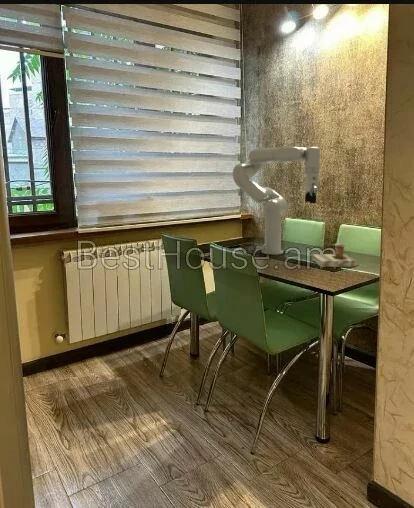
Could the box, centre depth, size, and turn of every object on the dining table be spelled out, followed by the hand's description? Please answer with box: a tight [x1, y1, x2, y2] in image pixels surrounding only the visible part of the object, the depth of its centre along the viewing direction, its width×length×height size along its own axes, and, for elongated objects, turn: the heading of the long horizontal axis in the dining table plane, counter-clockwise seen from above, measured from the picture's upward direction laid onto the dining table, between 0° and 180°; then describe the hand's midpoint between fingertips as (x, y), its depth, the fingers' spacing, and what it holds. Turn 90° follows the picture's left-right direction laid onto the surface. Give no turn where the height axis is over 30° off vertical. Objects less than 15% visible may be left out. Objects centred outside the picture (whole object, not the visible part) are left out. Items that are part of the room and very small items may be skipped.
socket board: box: [311, 253, 358, 268], centre depth 214 cm, size 18×16×3 cm
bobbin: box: [334, 242, 346, 259], centre depth 213 cm, size 5×5×10 cm
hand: (310, 202), depth 224 cm, fingers open, 9 cm apart
